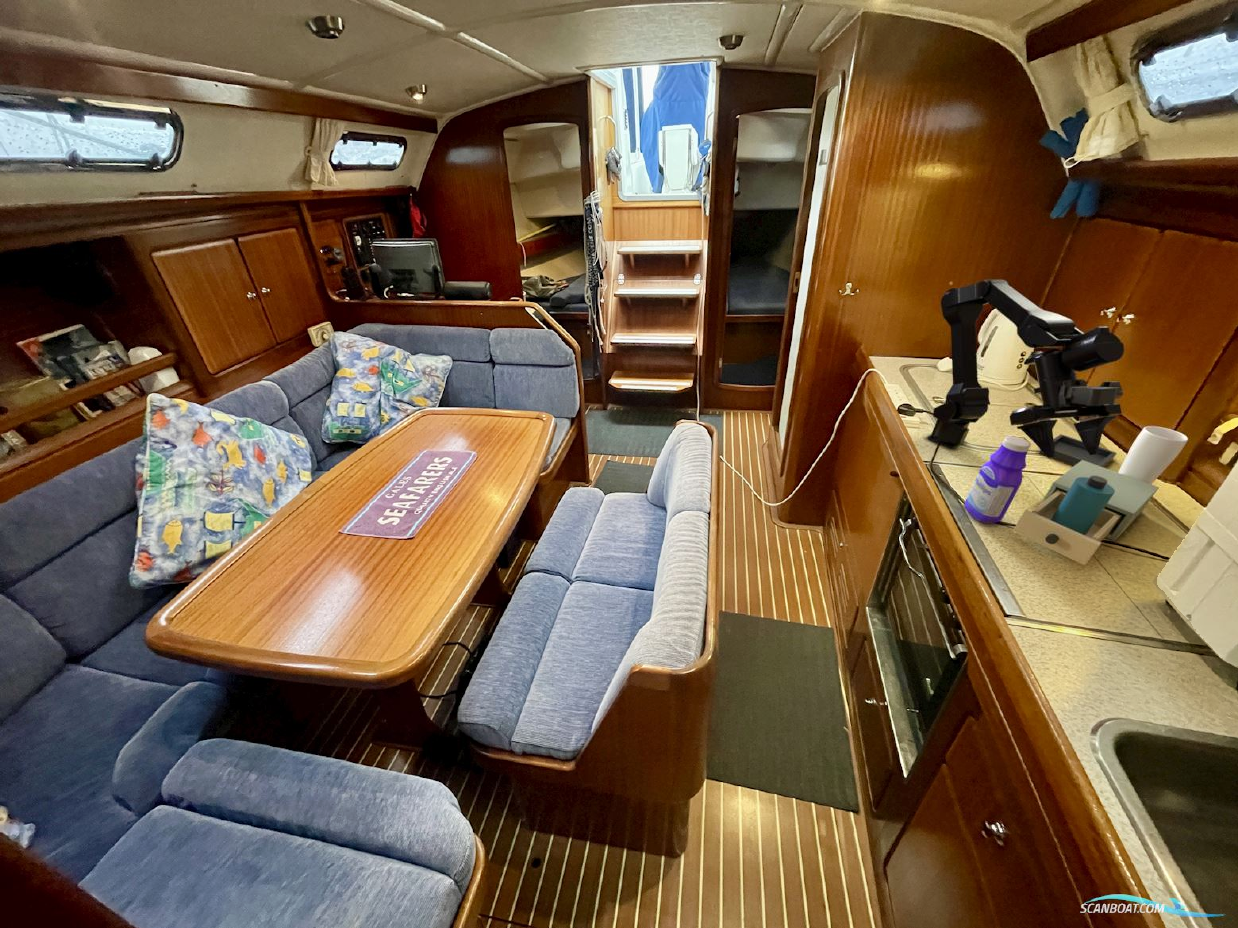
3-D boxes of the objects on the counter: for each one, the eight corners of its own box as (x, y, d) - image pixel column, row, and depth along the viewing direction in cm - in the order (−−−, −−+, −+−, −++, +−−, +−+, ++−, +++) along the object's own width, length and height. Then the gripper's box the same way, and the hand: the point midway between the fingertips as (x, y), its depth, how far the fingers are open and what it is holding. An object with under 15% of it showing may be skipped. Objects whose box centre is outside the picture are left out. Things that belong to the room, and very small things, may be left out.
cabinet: (1114, 540, 93) (1134, 513, 89) (1038, 507, 102) (1053, 481, 98) (1140, 513, 100) (1159, 487, 97) (1067, 484, 109) (1082, 459, 106)
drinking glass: (1153, 503, 103) (1198, 443, 95) (1116, 499, 104) (1158, 439, 96) (1131, 486, 109) (1172, 427, 101) (1097, 482, 110) (1135, 424, 102)
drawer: (1082, 568, 85) (1096, 547, 83) (1009, 533, 93) (1021, 513, 91) (1112, 535, 93) (1126, 516, 90) (1043, 506, 101) (1054, 487, 98)
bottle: (956, 503, 103) (990, 431, 94) (983, 504, 103) (1020, 432, 94) (977, 525, 97) (1015, 450, 87) (1005, 525, 97) (1047, 451, 87)
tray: (1039, 453, 121) (1042, 446, 120) (1057, 440, 126) (1060, 434, 125) (1095, 473, 113) (1100, 466, 112) (1112, 459, 118) (1117, 452, 117)
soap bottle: (1045, 523, 94) (1074, 476, 88) (1057, 513, 97) (1085, 467, 91) (1081, 539, 90) (1113, 491, 84) (1091, 528, 93) (1124, 481, 87)
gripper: (1055, 368, 87) (1072, 452, 85) (1145, 363, 89) (1164, 446, 87) (1001, 386, 98) (1015, 461, 96) (1082, 381, 100) (1097, 455, 98)
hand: (1072, 456), depth 94 cm, fingers open, 9 cm apart
